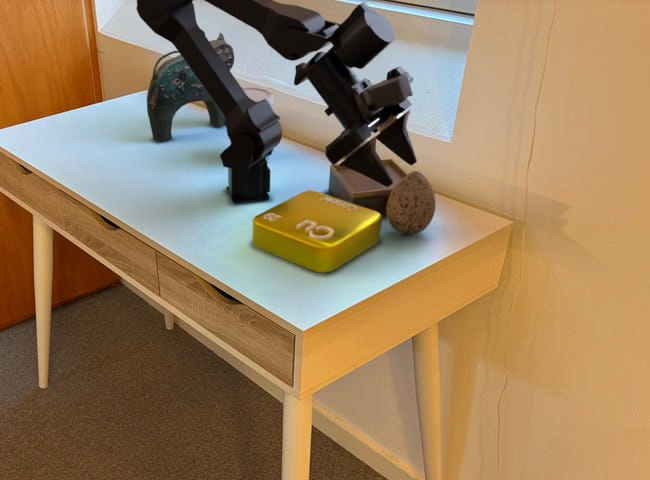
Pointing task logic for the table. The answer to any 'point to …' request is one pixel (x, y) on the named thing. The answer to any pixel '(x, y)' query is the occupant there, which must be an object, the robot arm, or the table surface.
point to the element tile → (316, 230)
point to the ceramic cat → (181, 91)
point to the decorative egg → (411, 204)
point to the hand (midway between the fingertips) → (402, 174)
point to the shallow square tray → (364, 186)
